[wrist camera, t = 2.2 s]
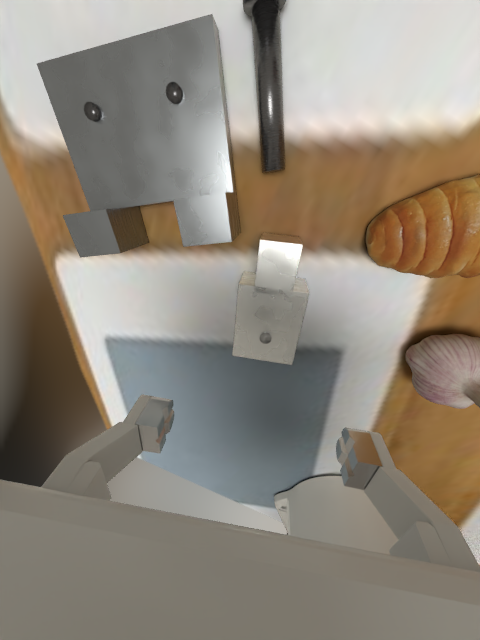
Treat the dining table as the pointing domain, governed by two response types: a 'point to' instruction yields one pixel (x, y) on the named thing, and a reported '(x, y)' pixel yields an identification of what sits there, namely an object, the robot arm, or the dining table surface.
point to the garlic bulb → (447, 369)
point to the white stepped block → (271, 302)
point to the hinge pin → (268, 79)
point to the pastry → (431, 232)
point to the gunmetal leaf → (147, 136)
